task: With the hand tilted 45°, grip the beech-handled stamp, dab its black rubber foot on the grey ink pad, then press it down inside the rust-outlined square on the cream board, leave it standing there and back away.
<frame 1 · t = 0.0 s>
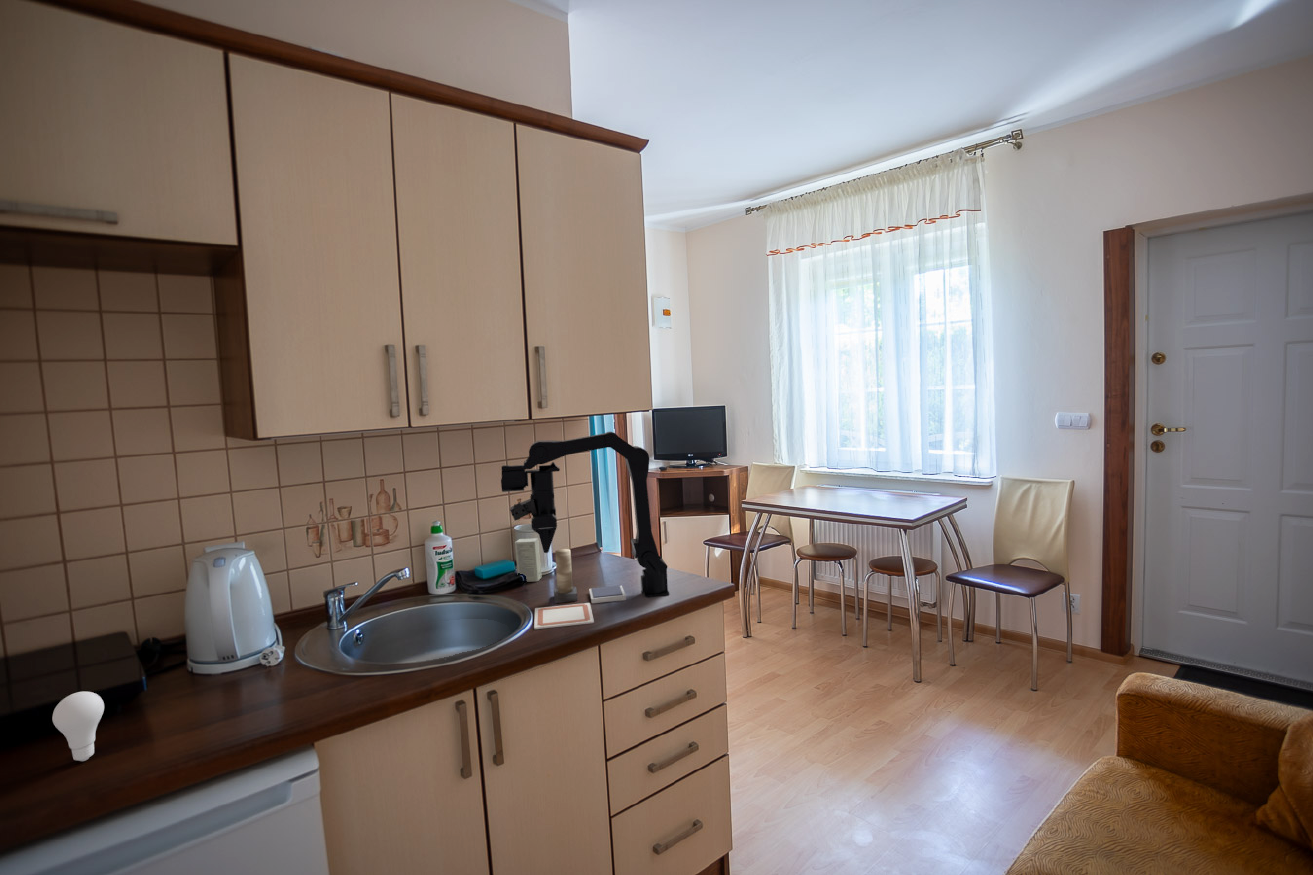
hand: (546, 548, 168), 15 cm above the counter, tool pointing down, fingers open, 9 cm apart
stamp: (565, 598, 173), on the counter
skincare box: (529, 580, 191), on the counter
target board: (563, 616, 159), on the counter
lightbulb: (84, 761, 102), on the counter
ink pad: (607, 596, 172), on the counter
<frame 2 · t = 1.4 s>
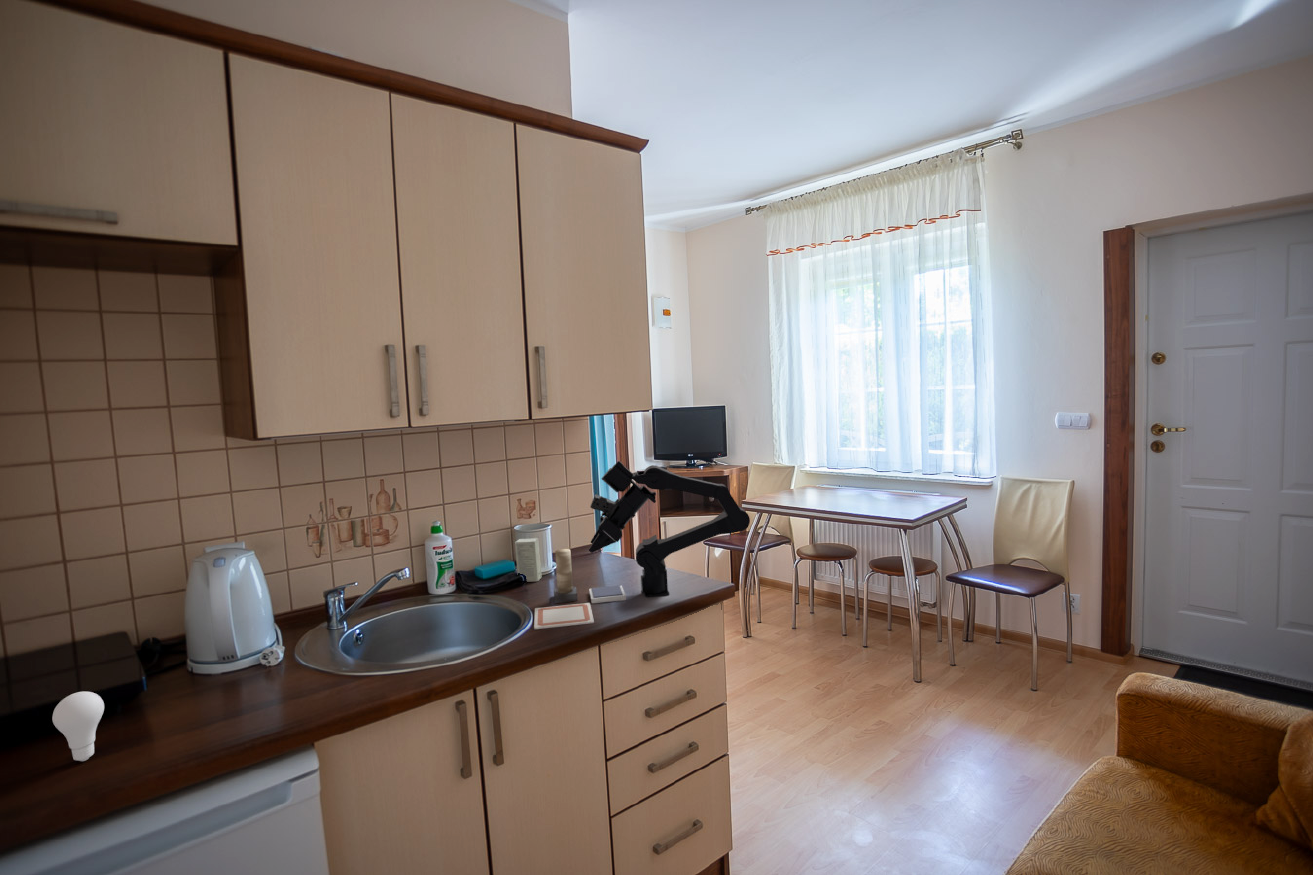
hand: (590, 547, 172), 13 cm above the counter, tool tilted 45°, fingers open, 9 cm apart
nothing on the counter moved.
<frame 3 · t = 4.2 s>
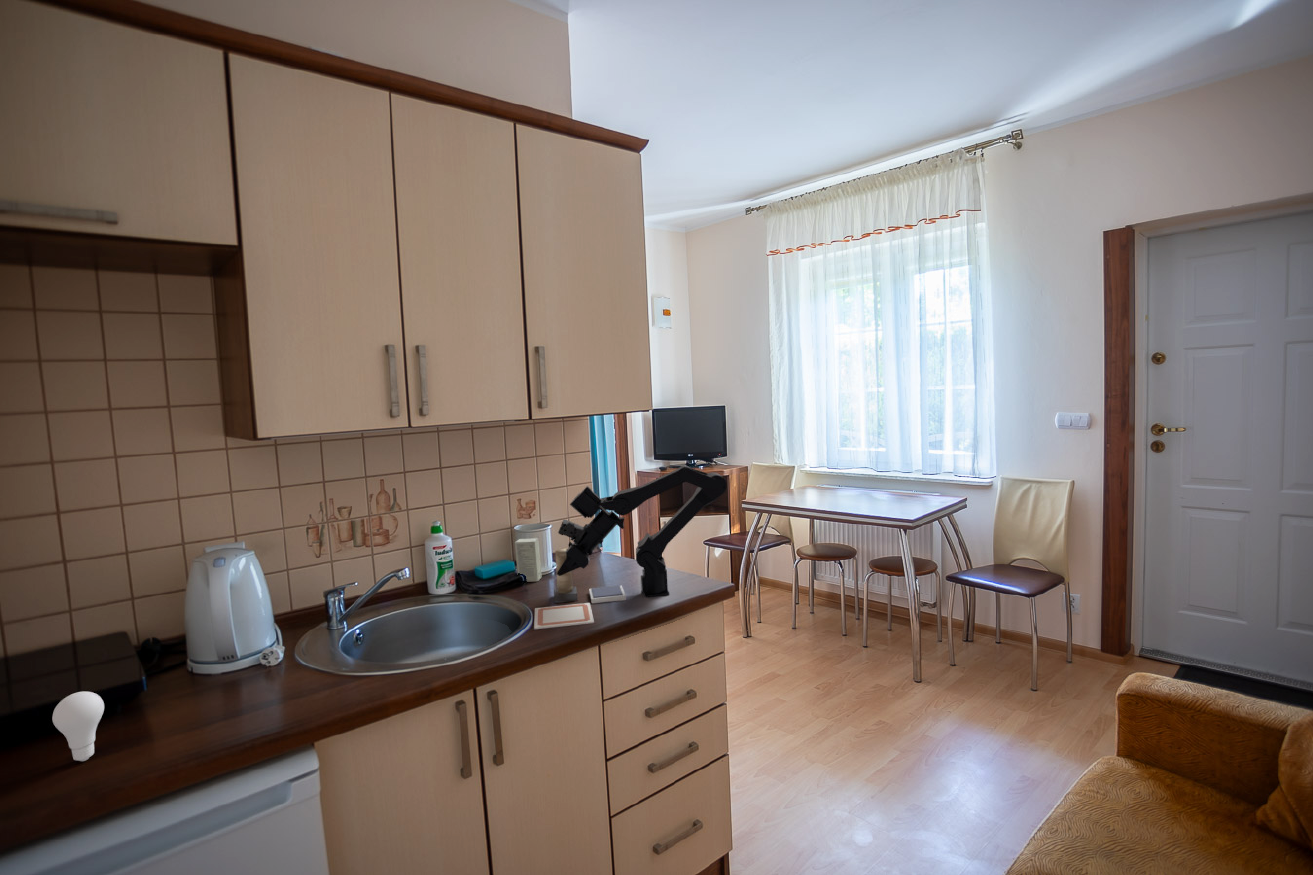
hand: (558, 572, 172), 7 cm above the counter, tool tilted 45°, fingers closed on stamp, 4 cm apart
stamp: (565, 598, 173), on the counter, touching gripper
everything else where it was.
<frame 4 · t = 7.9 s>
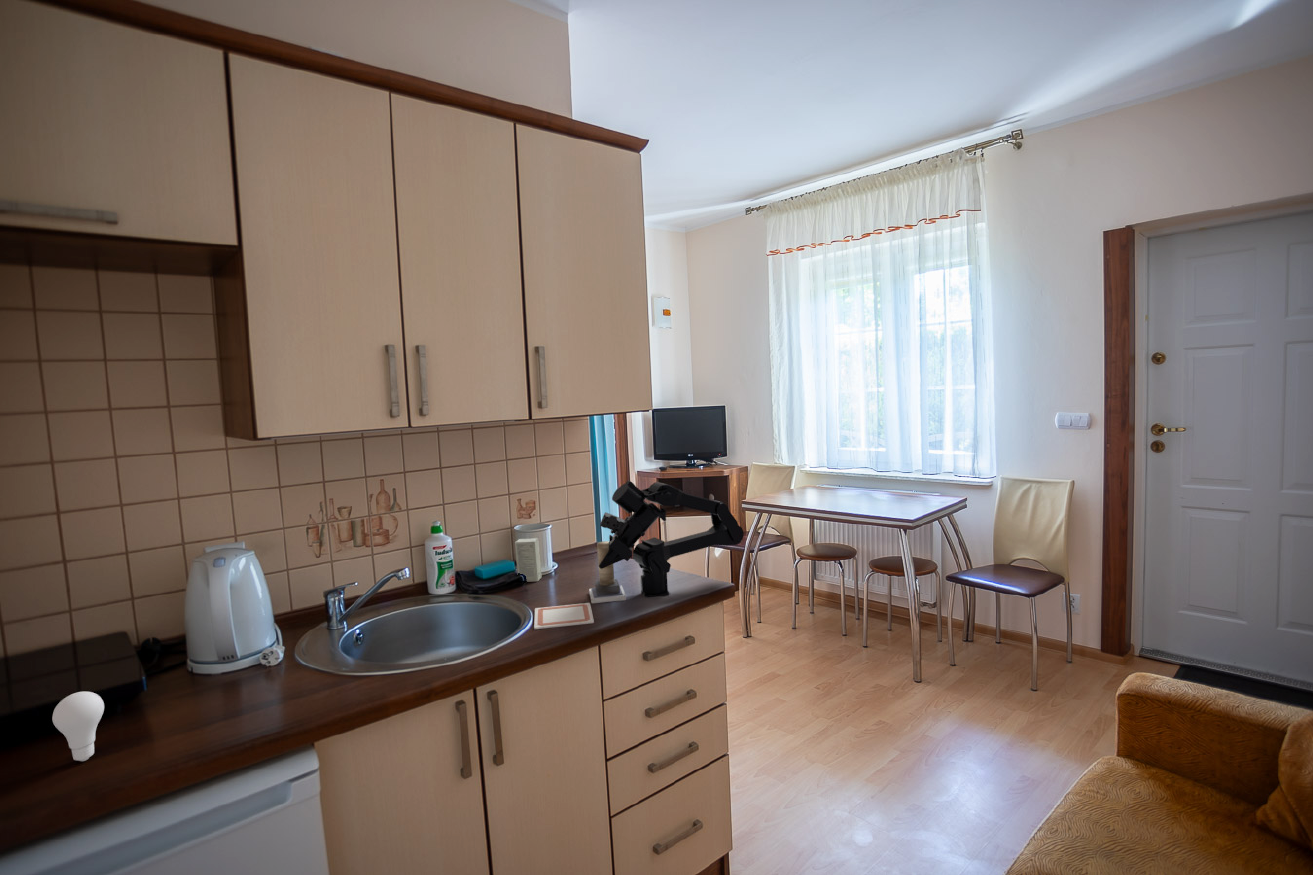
hand: (600, 565, 172), 9 cm above the counter, tool tilted 45°, fingers closed on stamp, 4 cm apart
stamp: (607, 590, 172), point 2 cm above the counter, touching gripper, ink pad
everything else where it was.
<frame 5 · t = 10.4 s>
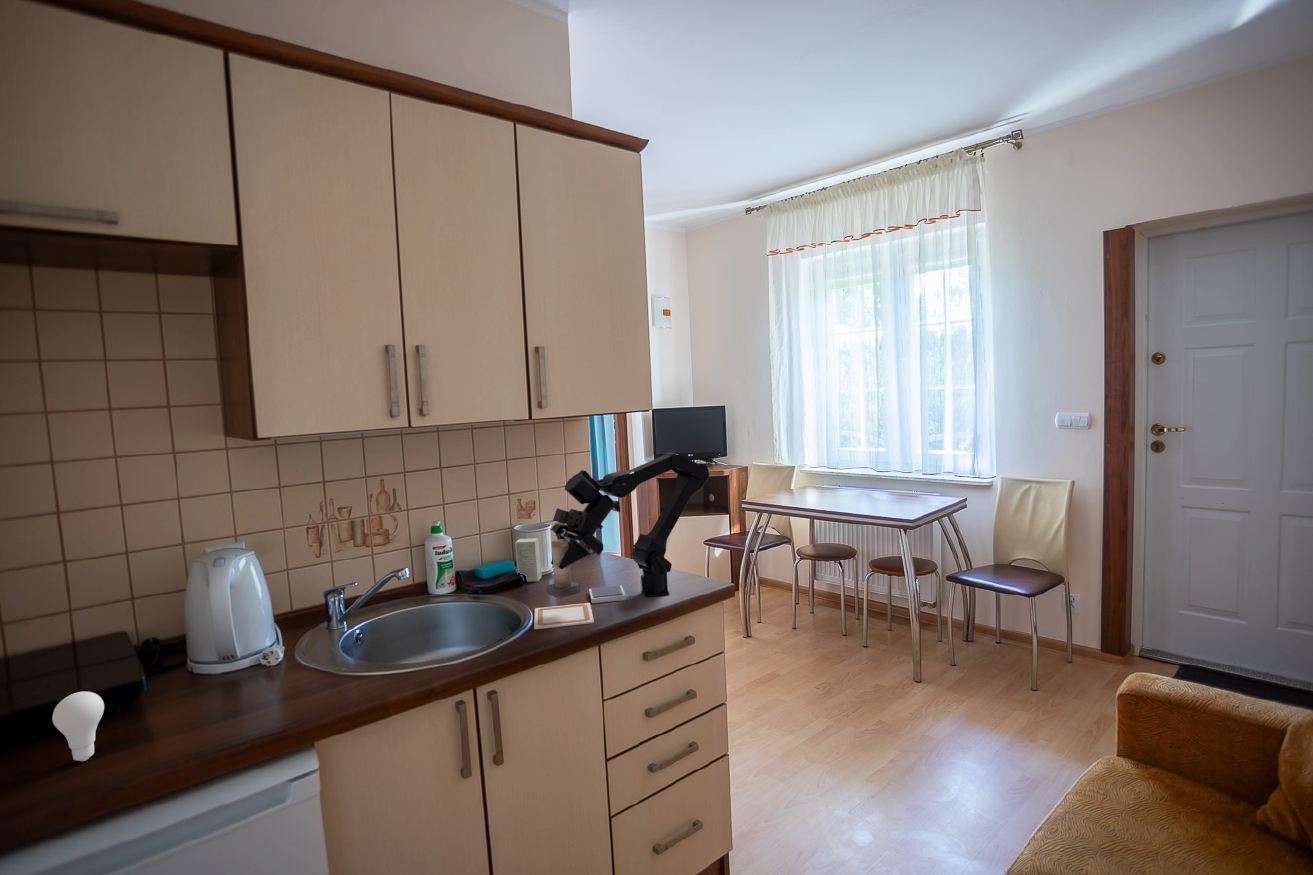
hand: (556, 566, 157), 13 cm above the counter, tool tilted 45°, fingers closed on stamp, 4 cm apart
stamp: (563, 592, 159), point 6 cm above the counter, touching gripper
everything else where it was.
when the fingers open (7 cm above the counter, at t = 12.0 s): stamp stays where it is, resting on target board.
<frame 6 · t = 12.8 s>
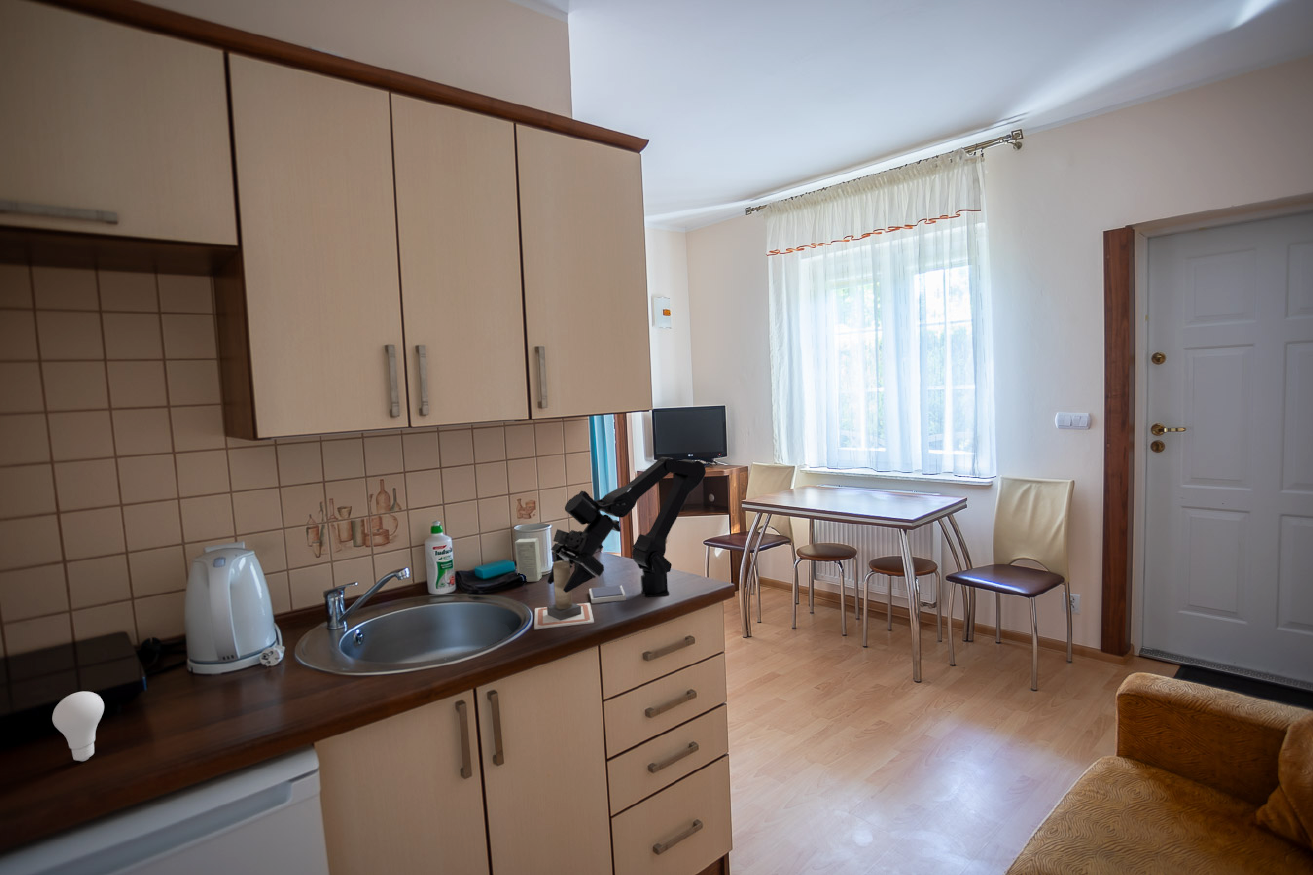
hand: (556, 587, 157), 8 cm above the counter, tool tilted 45°, fingers open, 9 cm apart
stamp: (564, 614, 159), resting on target board
everything else where it was.
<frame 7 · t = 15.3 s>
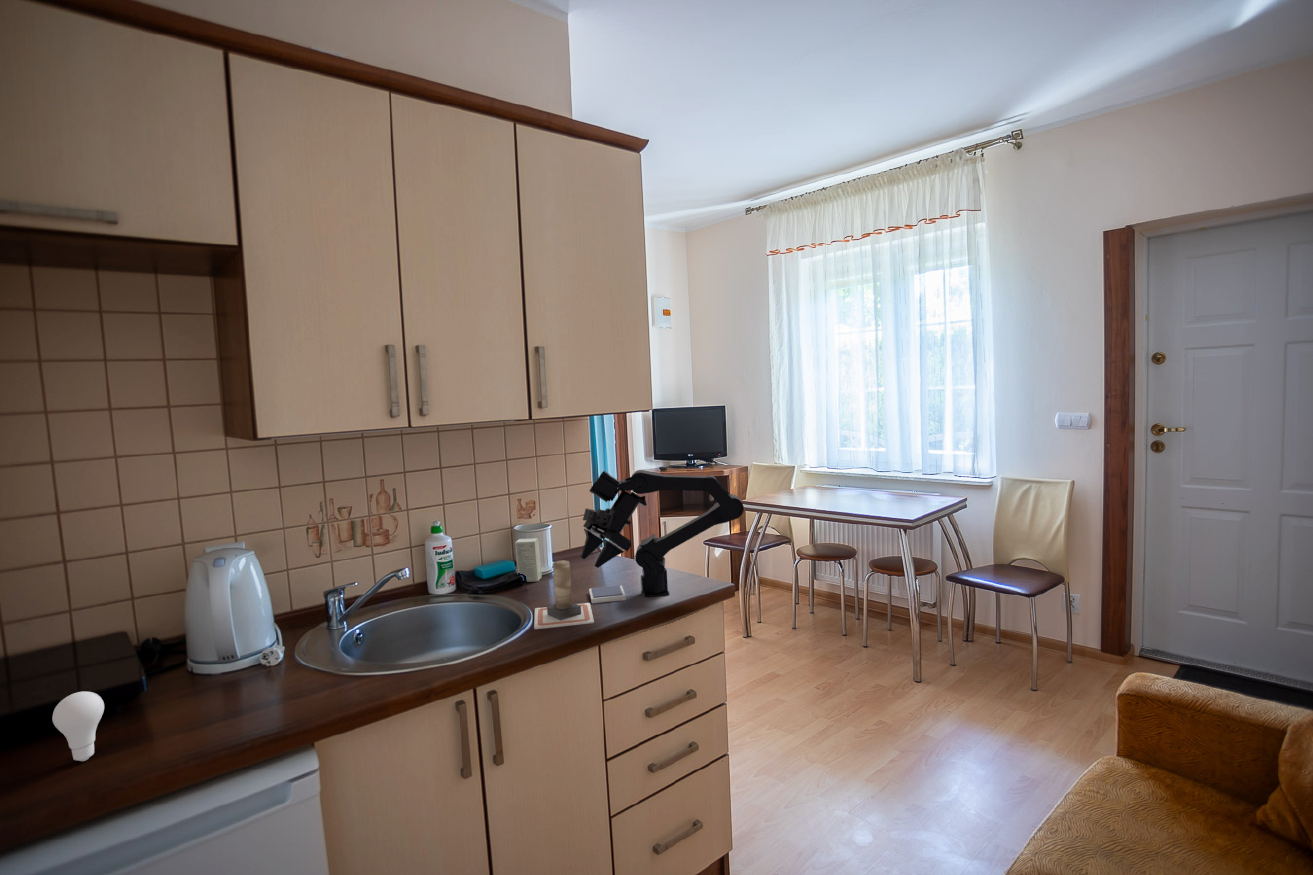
hand: (589, 562, 168), 10 cm above the counter, tool tilted 40°, fingers open, 9 cm apart
nothing on the counter moved.
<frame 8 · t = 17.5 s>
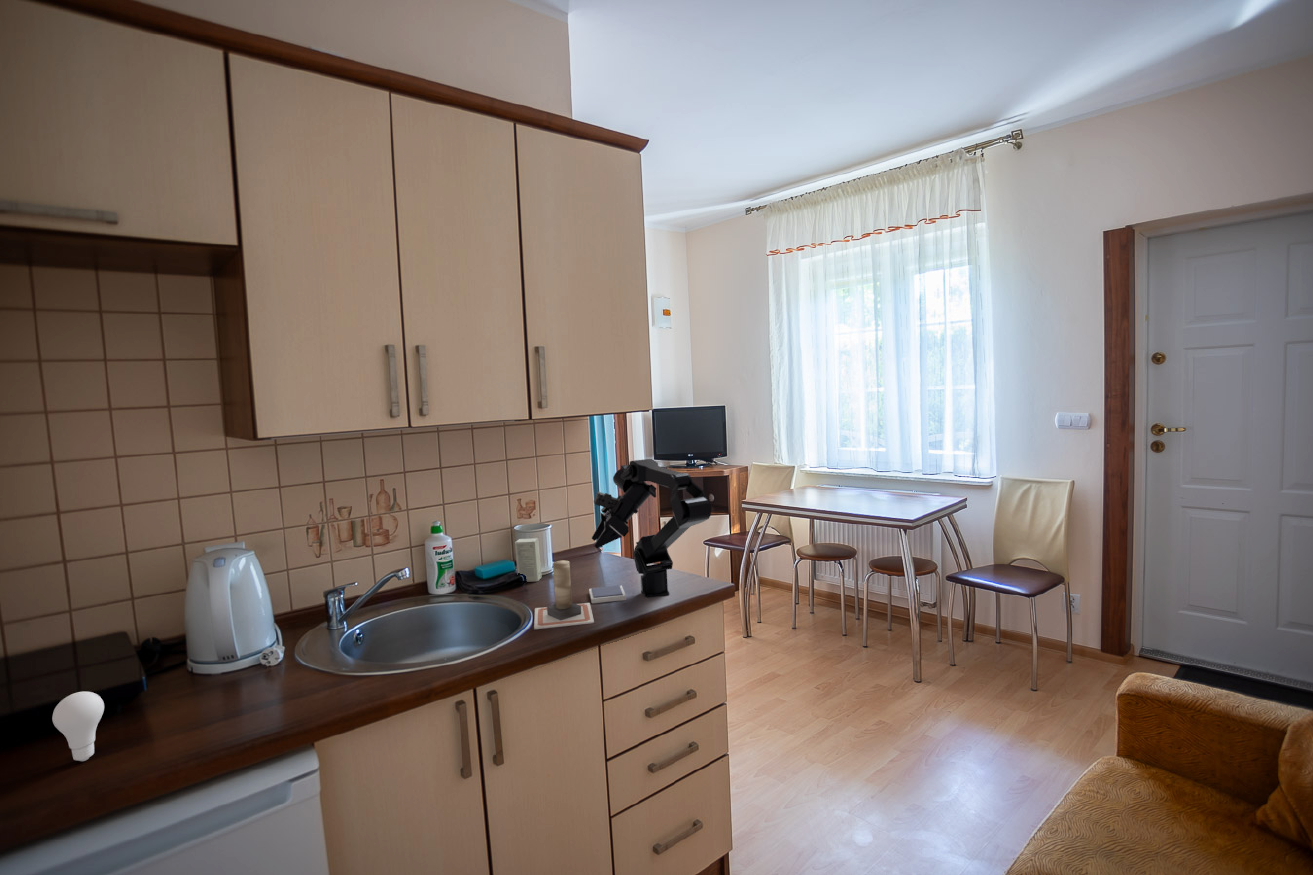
hand: (594, 543, 176), 14 cm above the counter, tool tilted 45°, fingers open, 9 cm apart
nothing on the counter moved.
at the end: stamp 0.2 cm off-centre on the target board, point 0.4 cm above the target board's base; stamp tilted 0°; the gripper is holding nothing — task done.
